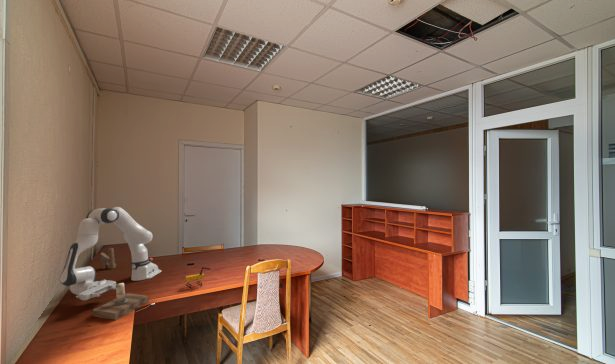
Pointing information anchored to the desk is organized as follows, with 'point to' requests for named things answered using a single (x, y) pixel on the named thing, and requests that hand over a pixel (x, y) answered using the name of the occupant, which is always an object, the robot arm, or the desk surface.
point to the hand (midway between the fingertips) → (107, 291)
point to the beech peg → (120, 295)
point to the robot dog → (195, 277)
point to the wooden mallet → (105, 260)
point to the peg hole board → (120, 307)
